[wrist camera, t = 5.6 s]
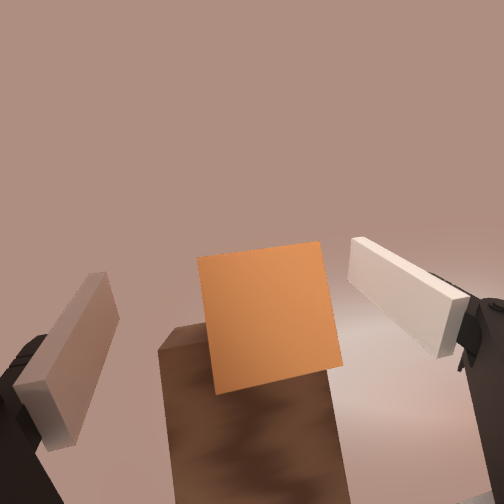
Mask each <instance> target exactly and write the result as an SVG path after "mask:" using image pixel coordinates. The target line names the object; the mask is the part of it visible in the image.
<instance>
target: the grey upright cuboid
mask: <svg viewBox="0 0 504 504" xmlns="http://www.w3.org/2000/svg"><path fill="white" fill-rule="evenodd" d="M458 504H495V501H494V497H493V492H492V491H490V492H488V493H485V494H482V495H480V496H477V497H474V498H471V499H469V500H466V501H463V502H461V503H458Z"/></svg>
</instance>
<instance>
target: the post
mask: <svg viewBox="0 0 504 504" xmlns="http://www.w3.org/2000/svg"><path fill="white" fill-rule="evenodd" d="M158 357H159V365H160V374H161V382H162V391H163V400H164V407H165V417H166V425H167V434H168V442H169V451H170V459H171V467H172V476H173V485H174V493H175V502H176V504H351V503H350V497H349V492H348V486H347V481H346V475H345V470H344V464H343V458H342V453H341V448H340V442H339V437H338V431H337V426H336V420H335V414H334V409H333V403H332V398H331V392H330V387H329V381H328V376H327V370H322V371H318V372H313V373H309V374H305V375H300V376H296V377H292V378H287V379H283V380H279V381H275V382H270V383H266V384H262V385H257V386H253V387H249V388H244V389H240V390H236V391H231V392H227V393H223V394H218V395H216V393H215V386H214V379H213V371H212V364H211V357H210V350H209V342H208V335H207V328H206V322H205V323H200V324H194V325H188V326H183V327H177V328H175V329H174V330H173V331H172V333H171V334H170V335H169V336H168V338H167V339H166V340H165V342H164V343H163V344H162V345H161V347H160V348H159V350H158Z"/></svg>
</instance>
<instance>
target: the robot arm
mask: <svg viewBox="0 0 504 504" xmlns="http://www.w3.org/2000/svg"><path fill="white" fill-rule="evenodd" d="M348 281H349V282H350V283H351V284H352V285H353V286H354V287H355V288H357V289H358V290H359V291H360V292H361V293H362V294H364V295H365V296H366V297H367V298H368V299H369V300H370V301H371V302H373V303H374V304H375V305H376V306H377V307H378V308H379V309H381V310H382V311H383V312H384V313H385V314H386V315H387V316H388V317H390V318H391V319H392V320H393V321H394V322H395V323H396V324H398V325H399V326H400V327H401V328H402V329H403V330H404V331H406V332H407V333H408V334H409V335H410V336H411V337H412V338H413V339H415V340H416V341H417V342H418V343H419V344H420V345H421V346H423V347H424V348H425V349H426V350H427V351H428V352H429V353H430V354H432V355H433V356H434V357H435V358H436V359H437V358H441V357H445V356H450V355H452V354H453V352H454V348H455V345H456V342H457V343H458V344H460V345H461V346H462V347H464V351H463V354H462V357H461V360H460V363H459V366H458V371H459V372H461V370H462V368H464V367H465V371H466V376H467V380H468V385H469V389H470V393H471V398H472V402H473V407H474V411H475V416H476V420H477V424H478V429H479V434H480V438H481V443H482V447H483V452H484V456H485V461H486V465H487V469H488V474H489V479H490V483H491V488H492V492H493V497H494V501H495V504H504V300H501V299H497V298H483V299H479V298H477V297H475V296H473V295H472V294H469V293H468V292H466V291H464V290H462V289H461V288H459V287H457V286H455V285H452V283H450V282H448V281H444V279H442V278H441V277H439V276H437V275H435V274H433V273H430V272H427V271H424V270H423V269H421V268H419V267H417V266H415V265H414V264H412V263H410V262H408V261H406V260H405V259H403V258H401V257H399V256H397V255H396V254H394V253H392V252H390V251H389V250H387V249H385V248H383V247H381V246H380V245H378V244H376V243H374V242H372V241H371V240H369V239H367V238H365V237H357V238H352V239H351V250H350V261H349V270H348ZM118 322H119V315H118V311H117V308H116V304H115V301H114V298H113V294H112V291H111V287H110V284H109V280H108V277H107V274H106V272H101V273H93V274H89V275H88V276H87V278H86V279H85V281H84V282H83V284H82V285H81V286H80V288H79V290H78V291H77V292H76V294H75V296H74V297H73V298H72V300H71V301H70V303H69V304H68V306H67V307H66V308H65V310H64V311H63V313H62V314H61V316H60V317H59V319H58V320H57V322H56V323H55V325H54V326H53V328H52V329H51V330H50V332H49V333H48V334H45V335H40V336H37V337H35V338H34V339H33V340H31V341H30V342H29V343H27V344H26V345H25V346H24V347H23V348H22V350H21V351H20V352H19V354H18V355H17V356H16V359H14V360H13V362H12V363H11V364H10V366H9V368H8V369H6V371H5V372H4V374H3V375H2V376H1V377H0V504H64V502H63V501H62V499H61V497H60V495H59V494H58V492H57V490H56V489H55V487H54V485H53V483H52V482H51V480H50V478H49V477H48V475H47V473H46V471H45V470H44V468H43V466H42V465H41V463H40V461H39V459H38V458H37V456H36V454H35V452H36V450H37V447H38V446H39V443H40V441H41V440H42V442H43V444H44V446H45V447H46V449H47V451H48V452H49V451H54V450H58V449H62V448H66V447H70V446H75V445H76V442H77V439H78V436H79V433H80V431H81V428H82V425H83V422H84V419H85V416H86V413H87V410H88V408H89V405H90V402H91V399H92V396H93V393H94V390H95V388H96V384H97V382H98V379H99V376H100V373H101V370H102V367H103V364H104V362H105V359H106V356H107V353H108V350H109V347H110V345H111V341H112V339H113V336H114V333H115V330H116V327H117V324H118Z"/></svg>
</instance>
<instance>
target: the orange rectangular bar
mask: <svg viewBox="0 0 504 504" xmlns="http://www.w3.org/2000/svg"><path fill="white" fill-rule="evenodd" d="M197 262H198V269H199V277H200V283H201V291H202V298H203V306H204V313H205V320H206V328H207V335H208V342H209V350H210V357H211V364H212V371H213V379H214V386H215V393H216V395H218V394H223V393H227V392H231V391H236V390H240V389H244V388H249V387H253V386H257V385H262V384H266V383H270V382H275V381H279V380H283V379H287V378H292V377H296V376H300V375H305V374H309V373H313V372H318V371H322V370H326V369H331V368H335V367H339V366H343V362H342V357H341V352H340V346H339V341H338V336H337V330H336V326H335V320H334V314H333V309H332V304H331V298H330V293H329V288H328V282H327V277H326V272H325V267H324V261H323V256H322V251H321V246H320V241H315V242H307V243H301V244H293V245H285V246H278V247H271V248H263V249H256V250H249V251H242V252H234V253H227V254H220V255H212V256H205V257H198V258H197Z"/></svg>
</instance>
